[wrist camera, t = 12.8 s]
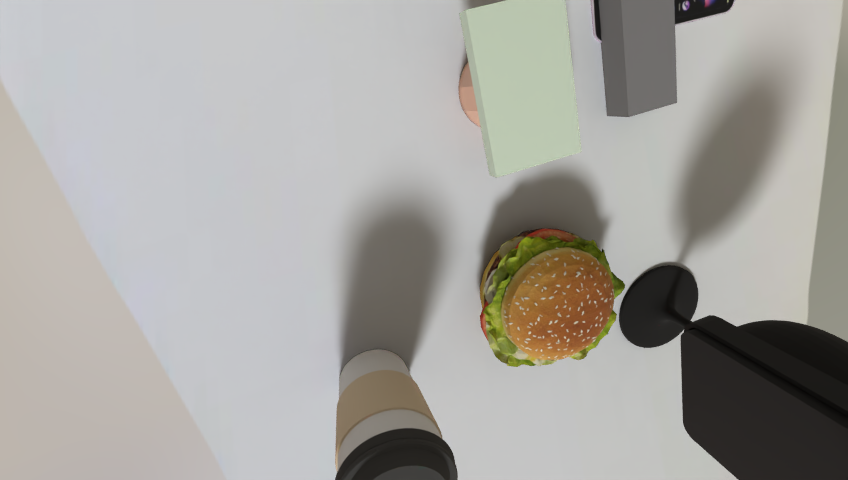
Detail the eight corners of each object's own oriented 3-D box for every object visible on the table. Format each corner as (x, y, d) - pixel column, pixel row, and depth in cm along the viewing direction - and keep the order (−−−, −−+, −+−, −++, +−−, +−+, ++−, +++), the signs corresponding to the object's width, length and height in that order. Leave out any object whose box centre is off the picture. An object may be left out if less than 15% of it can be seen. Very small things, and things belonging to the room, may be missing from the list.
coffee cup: (322, 347, 41) (328, 473, 27) (415, 331, 43) (464, 441, 29) (333, 424, 44) (343, 574, 30) (420, 406, 46) (466, 539, 32)
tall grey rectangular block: (597, -1, 37) (620, -9, 35) (647, -13, 38) (673, -22, 35) (607, 115, 41) (628, 116, 38) (652, 102, 42) (676, 102, 39)
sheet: (459, 13, 31) (465, 9, 29) (553, -9, 32) (563, -14, 30) (489, 175, 35) (496, 177, 34) (571, 150, 36) (581, 151, 35)
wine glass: (709, 270, 50) (943, 370, 31) (676, 349, 52) (874, 484, 34) (637, 258, 47) (850, 360, 28) (606, 343, 49) (782, 487, 31)
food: (447, 334, 44) (474, 380, 37) (497, 205, 41) (538, 227, 34) (556, 356, 48) (600, 402, 41) (609, 241, 45) (667, 268, 38)
